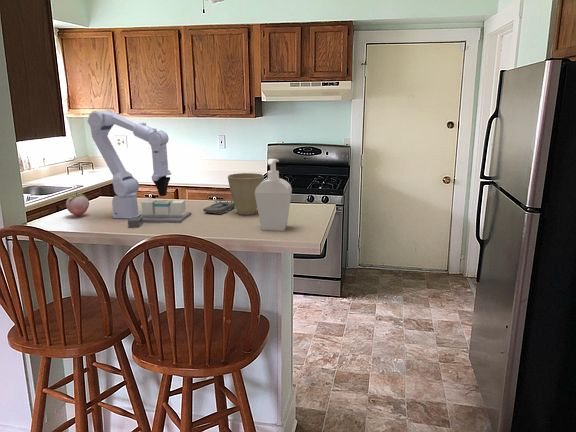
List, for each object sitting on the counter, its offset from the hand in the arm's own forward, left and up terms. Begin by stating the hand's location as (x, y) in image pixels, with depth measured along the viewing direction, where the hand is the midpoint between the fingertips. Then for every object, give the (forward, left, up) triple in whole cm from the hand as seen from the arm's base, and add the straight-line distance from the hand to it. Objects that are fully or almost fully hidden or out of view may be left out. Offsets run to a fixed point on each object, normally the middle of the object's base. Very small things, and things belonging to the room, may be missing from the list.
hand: (162, 195), depth 193 cm
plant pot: (+32, +11, -10) cm, 35 cm away
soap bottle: (+47, -13, -10) cm, 50 cm away
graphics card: (+19, +16, -10) cm, 26 cm away
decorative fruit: (-38, +1, -10) cm, 39 cm away
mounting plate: (0, 0, -9) cm, 9 cm away
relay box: (-7, -12, -10) cm, 17 cm away
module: (0, 0, -7) cm, 7 cm away
